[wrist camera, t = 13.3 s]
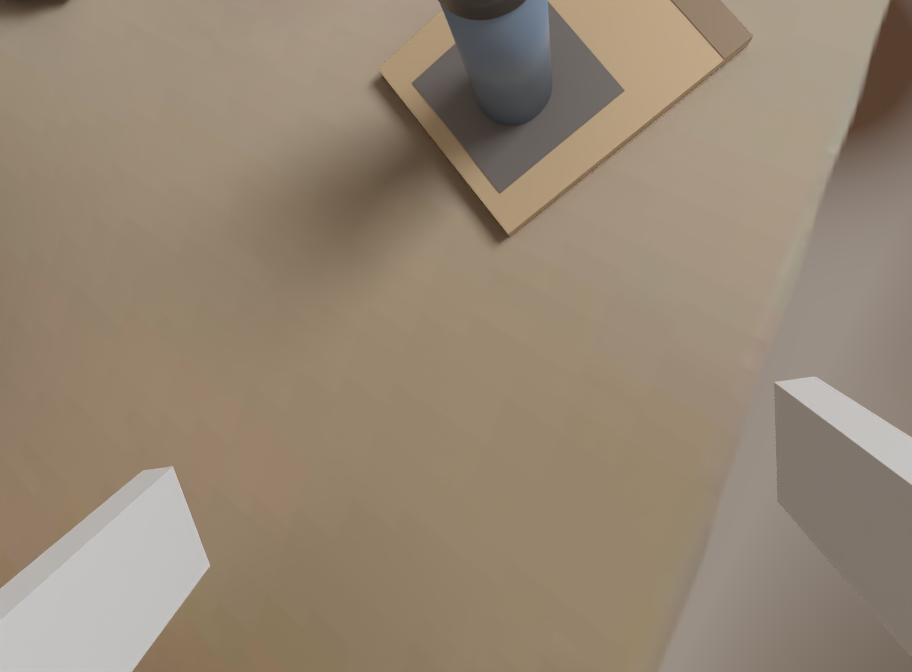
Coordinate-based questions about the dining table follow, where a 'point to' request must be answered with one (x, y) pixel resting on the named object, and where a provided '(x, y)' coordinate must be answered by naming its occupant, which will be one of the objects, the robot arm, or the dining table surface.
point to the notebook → (565, 94)
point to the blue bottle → (504, 54)
